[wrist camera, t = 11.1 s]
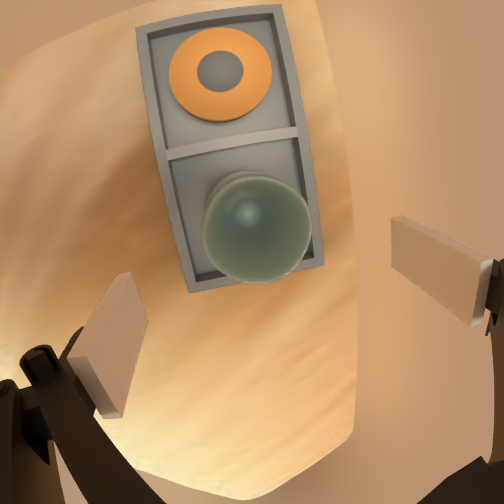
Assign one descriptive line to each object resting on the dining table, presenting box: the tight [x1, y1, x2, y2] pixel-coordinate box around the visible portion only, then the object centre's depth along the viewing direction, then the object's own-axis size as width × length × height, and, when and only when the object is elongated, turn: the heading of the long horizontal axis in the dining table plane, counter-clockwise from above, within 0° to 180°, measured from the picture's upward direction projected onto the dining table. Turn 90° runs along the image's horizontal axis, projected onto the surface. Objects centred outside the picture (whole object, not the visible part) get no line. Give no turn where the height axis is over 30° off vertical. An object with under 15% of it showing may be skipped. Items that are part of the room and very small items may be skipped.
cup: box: [201, 171, 312, 284], centre depth 26 cm, size 8×8×10 cm
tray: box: [136, 4, 325, 293], centre depth 28 cm, size 27×14×2 cm, turn 10°
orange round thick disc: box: [169, 28, 272, 123], centre depth 25 cm, size 9×9×3 cm
